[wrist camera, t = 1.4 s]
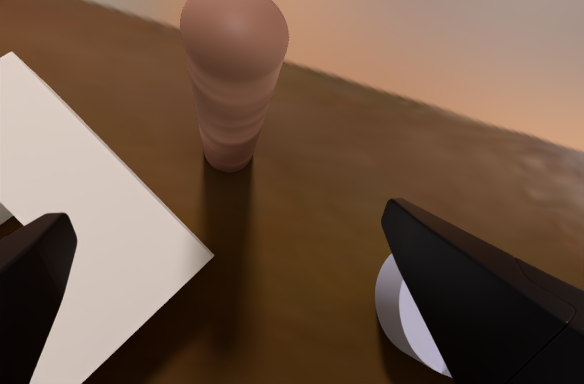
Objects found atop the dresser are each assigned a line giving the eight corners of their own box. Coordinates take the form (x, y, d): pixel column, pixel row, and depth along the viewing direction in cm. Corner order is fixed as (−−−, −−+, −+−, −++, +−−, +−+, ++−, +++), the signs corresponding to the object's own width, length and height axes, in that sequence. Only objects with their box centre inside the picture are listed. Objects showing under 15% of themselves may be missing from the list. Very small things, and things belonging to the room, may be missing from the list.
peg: (262, 151, 23) (309, 40, 11) (227, 182, 22) (234, 99, 10) (229, 117, 23) (238, -36, 11) (193, 146, 22) (155, 17, 10)
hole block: (214, 255, 21) (212, 257, 17) (-7, 467, 17) (-76, 534, 13) (50, 87, 21) (11, 51, 17) (-222, 259, 16) (-360, 263, 12)
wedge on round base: (522, 283, 26) (395, 223, 25) (619, 295, 20) (455, 214, 18) (501, 393, 24) (359, 334, 22) (602, 446, 18) (414, 369, 16)
